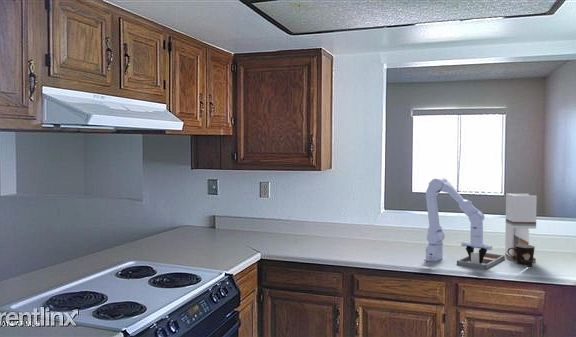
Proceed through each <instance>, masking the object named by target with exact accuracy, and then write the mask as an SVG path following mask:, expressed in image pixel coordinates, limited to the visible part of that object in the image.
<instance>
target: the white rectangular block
mask: <svg viewBox="0 0 576 337" xmlns="http://www.w3.org/2000/svg"><path fill="white" fill-rule="evenodd" d="M479 260H480V255H479V251H478V252H477V251H474V252H471V263H475V264H481V265H482V263H480V261H479Z"/></svg>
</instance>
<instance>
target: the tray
mask: <svg viewBox="0 0 576 337" xmlns="http://www.w3.org/2000/svg"><path fill="white" fill-rule="evenodd" d="M476 252H479V250H478V251H476ZM505 258H506V257H505V255H504V254H496V253H491V252H486V253H485V256H484V258H483V262H482V265H481V264H475V263H471V262H470V258H469V255H466V256H464V257H461V258H460V259H458V260H456V266H462V267H468V268H472V269H480V270H484V271H486V270H488V269H490V268H492V267H493V266H495V265H497V264H499V263H500V262H503V261H505Z"/></svg>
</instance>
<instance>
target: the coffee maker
mask: <svg viewBox="0 0 576 337" xmlns="http://www.w3.org/2000/svg"><path fill="white" fill-rule="evenodd" d="M537 198H538V197H537V195H530V193H505V242H504V243H505V248H504V251H505V253H504V254H505V258H506V259H508V260H509V261H512V262H517V260H516V259H517V255H516V252H515V250H514V249H516V246H515V245H518V244H524V245H530V229H532V230H533V229H534V230H535V229H537V207H538V206H537V200H538V199H537ZM509 248H514V249H510V250H509V254H510V255H512V256H513V257H515V258H516V259H514V258H513V257H511V256H510V255H509V254H508V252H507V251H508V249H509ZM536 260H537V259H536V257H534V256H533V263H536Z"/></svg>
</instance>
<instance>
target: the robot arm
mask: <svg viewBox="0 0 576 337" xmlns="http://www.w3.org/2000/svg"><path fill="white" fill-rule="evenodd" d="M440 192H442V193H447V194H449V196H450V197H452V199H453V200H455V202H456V203H458V208H459V209H460V210H461V211H462V212H463V213H464V214H465V215H466V217H468V221H469V222H470V239H469V240H470V242H465V241H461V247H465V251H466V252H467V256H469V258H470V262H471V252H474V250H475V249H478V252H479V255H480V260H479V261H480V263H482V262H483V258H484V256H485V253H488V251H492V250H493V246H492V245H489V244H485V243H484V241H483V239H484V225H483V224H484V220H485V214H484V213H483V211H481V210H479V209H478V208H476V207H475V206H474V205H473V204H472V203H473V201H471V200H469V199H464V198H463V196H462V195H461V194H460V193H459V192H458V190H456V188H455V187H454V186H453V185H452V183H451V182H449V181H448V179H446V177H439V178H438V177H437V178H433V179H431V181H429V182H428V187H427V189H426V191H425V200H426V210H427V216H428V217H427V218H428V228H427V235H426V240H427V242H428V244H427V246H426V248H425V258H423V260H424V261H425V262H426V261H427V262H432V261H435V262H437V261H440V260H443V254H444V252H443V249H444V248H443V247H444V246H443V245H444V244H443V240H445V233H444V231H443V228H442V226H441V224H440V216H439V210H438V209H439V208H438V201H437V200H438V199H437V196H438V195H439V194H440Z"/></svg>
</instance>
